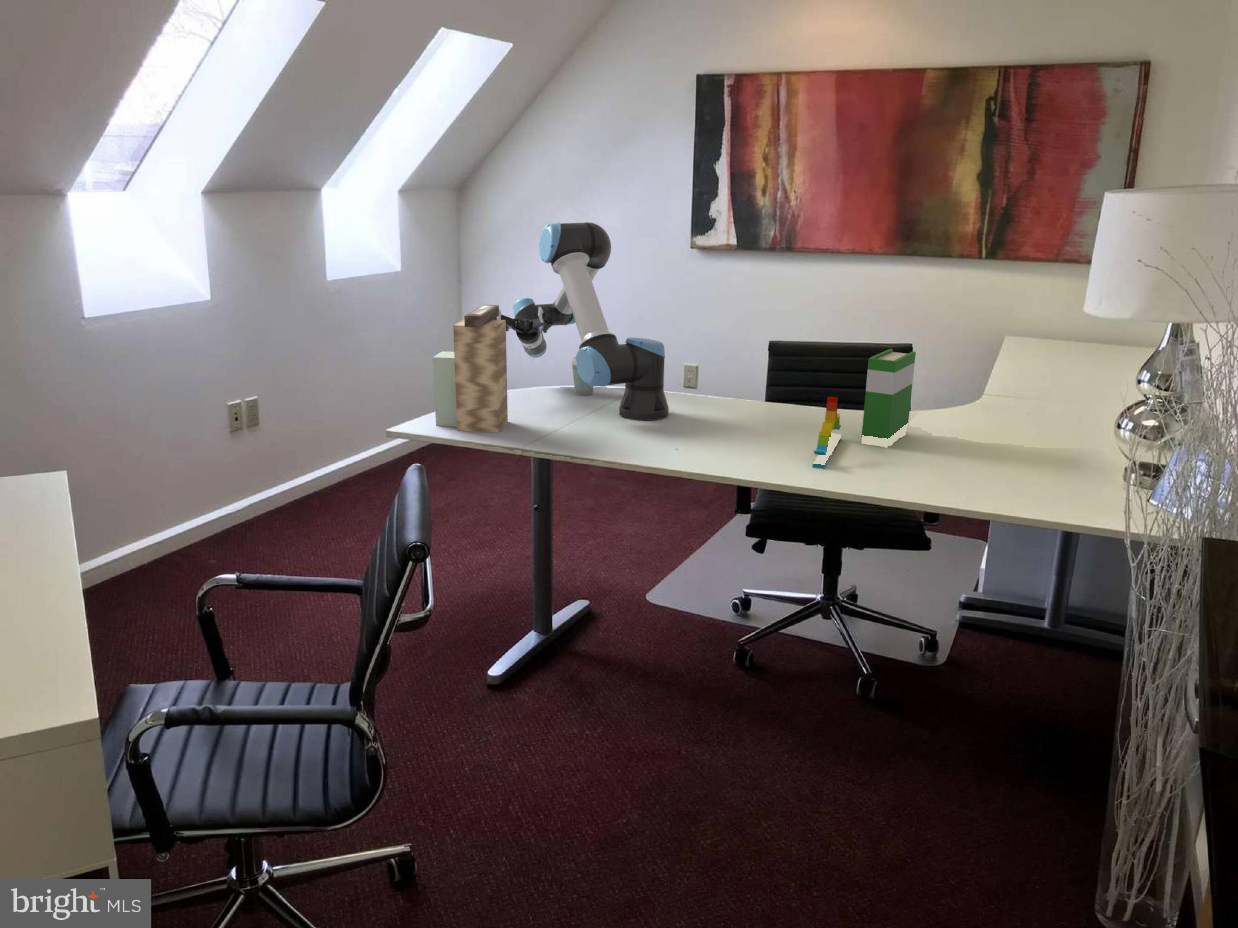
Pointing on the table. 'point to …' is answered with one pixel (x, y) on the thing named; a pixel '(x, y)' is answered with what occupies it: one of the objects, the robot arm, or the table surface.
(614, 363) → the robot arm
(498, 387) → the oak stand
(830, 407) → the chart
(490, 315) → the domino case
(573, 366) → the coffee cup
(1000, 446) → the table surface
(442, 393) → the green pedestal
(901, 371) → the hardback book
